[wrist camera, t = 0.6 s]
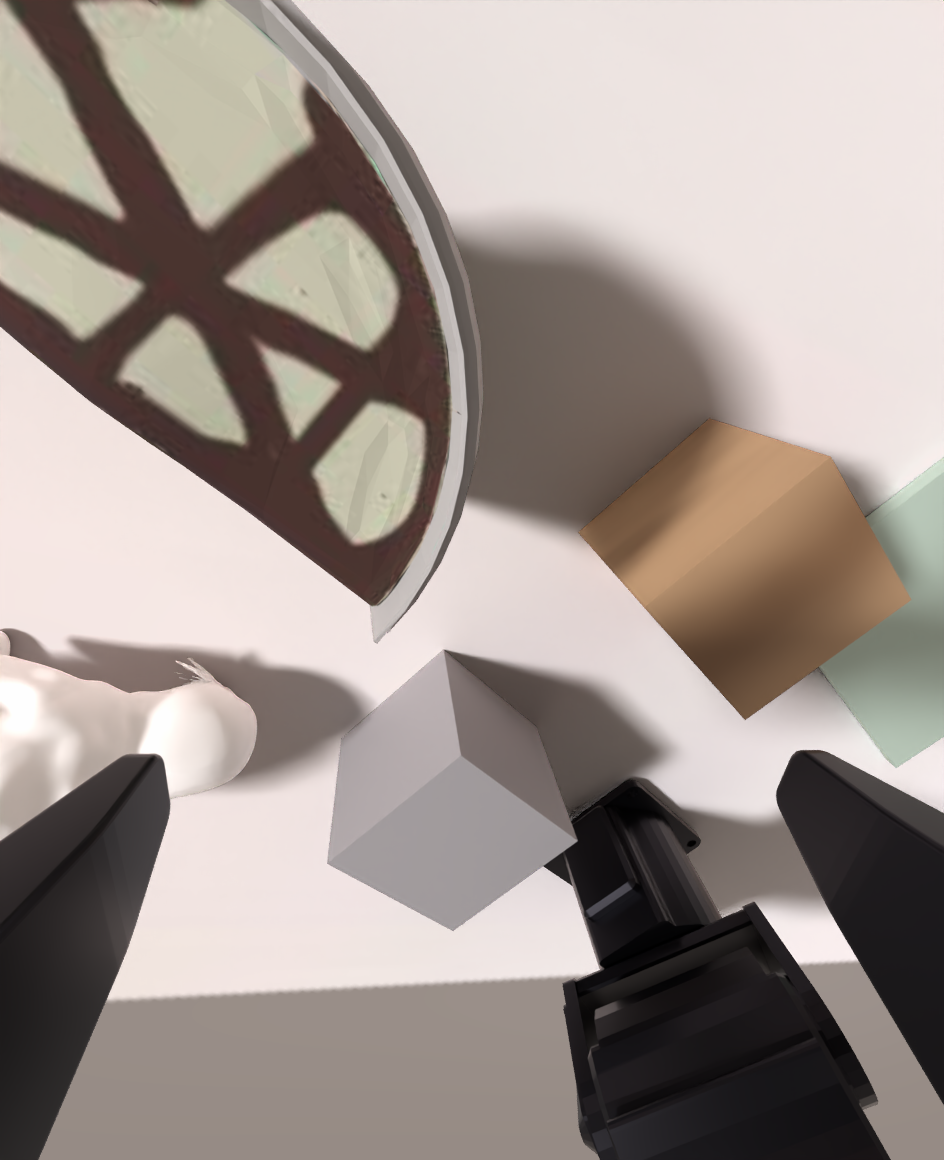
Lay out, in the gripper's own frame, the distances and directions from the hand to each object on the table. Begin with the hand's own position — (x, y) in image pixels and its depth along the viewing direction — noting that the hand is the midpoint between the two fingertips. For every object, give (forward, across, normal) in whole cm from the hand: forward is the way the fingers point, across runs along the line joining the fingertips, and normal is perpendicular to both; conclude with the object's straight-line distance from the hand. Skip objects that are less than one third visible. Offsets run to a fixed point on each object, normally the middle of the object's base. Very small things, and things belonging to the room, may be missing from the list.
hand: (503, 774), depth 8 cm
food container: (+13, +4, -7) cm, 15 cm away
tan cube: (+13, -10, 0) cm, 16 cm away
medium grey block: (+13, -1, +10) cm, 17 cm away
